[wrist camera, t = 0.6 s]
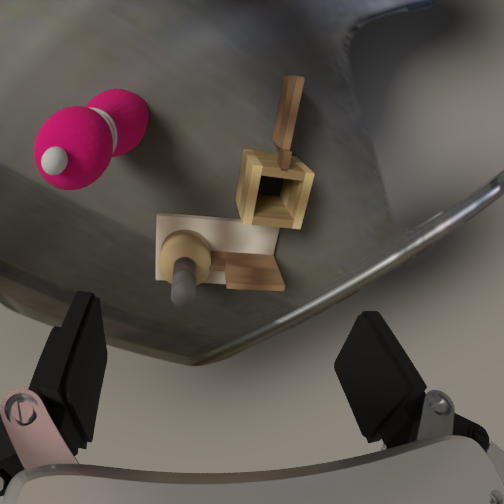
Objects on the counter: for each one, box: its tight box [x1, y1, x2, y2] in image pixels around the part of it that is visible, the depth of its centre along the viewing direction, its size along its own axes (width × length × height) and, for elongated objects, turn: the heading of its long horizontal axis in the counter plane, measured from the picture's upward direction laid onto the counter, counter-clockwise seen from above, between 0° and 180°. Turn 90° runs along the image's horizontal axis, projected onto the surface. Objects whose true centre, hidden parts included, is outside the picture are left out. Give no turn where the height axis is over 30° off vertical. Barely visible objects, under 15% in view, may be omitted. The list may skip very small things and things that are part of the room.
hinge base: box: [156, 213, 285, 307], centre depth 39 cm, size 16×10×10 cm, turn 80°
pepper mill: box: [34, 89, 149, 190], centre depth 23 cm, size 7×7×20 cm
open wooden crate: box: [236, 75, 315, 229], centre depth 33 cm, size 16×7×7 cm, turn 170°
